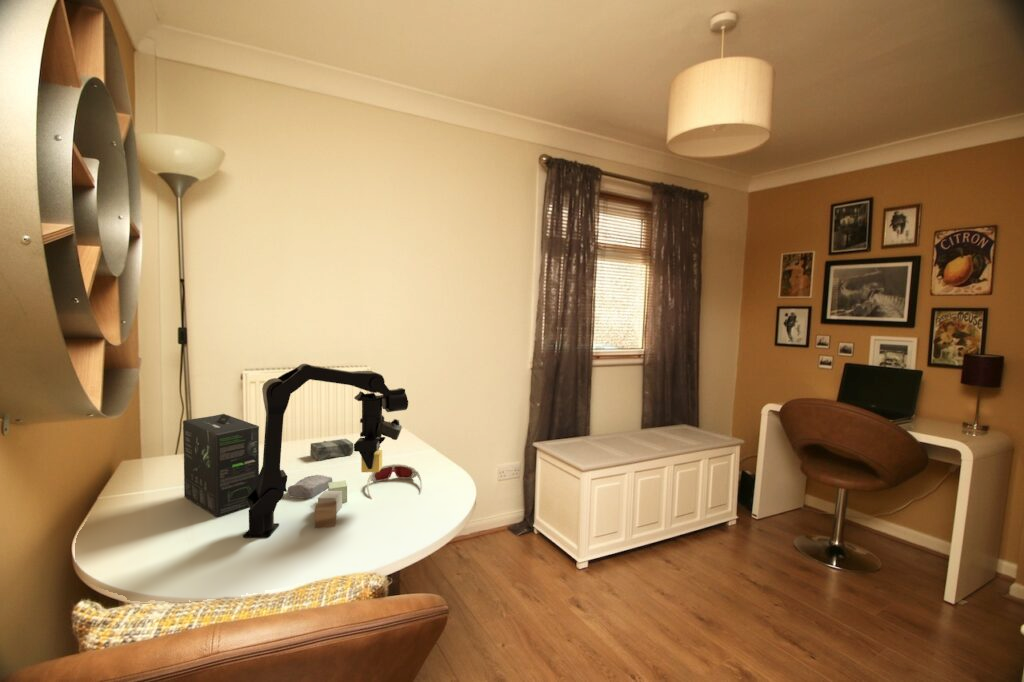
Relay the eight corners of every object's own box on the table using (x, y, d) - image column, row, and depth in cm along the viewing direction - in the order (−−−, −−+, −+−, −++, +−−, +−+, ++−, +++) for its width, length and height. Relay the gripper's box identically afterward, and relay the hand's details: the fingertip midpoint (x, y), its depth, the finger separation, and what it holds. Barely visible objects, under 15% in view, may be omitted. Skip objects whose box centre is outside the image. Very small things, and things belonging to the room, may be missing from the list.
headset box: (261, 503, 134) (259, 418, 132) (216, 518, 124) (214, 426, 122) (225, 485, 147) (224, 407, 145) (182, 498, 137) (180, 414, 135)
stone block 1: (354, 455, 181) (354, 442, 180) (317, 462, 171) (317, 449, 171) (346, 449, 187) (346, 437, 187) (310, 456, 178) (310, 443, 178)
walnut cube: (334, 526, 122) (334, 508, 121) (314, 528, 120) (314, 510, 120) (336, 518, 126) (336, 500, 126) (317, 520, 125) (317, 502, 125)
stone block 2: (285, 502, 140) (313, 499, 138) (282, 487, 140) (310, 483, 138) (309, 489, 151) (335, 486, 150) (306, 475, 152) (333, 471, 150)
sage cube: (347, 502, 137) (347, 486, 136) (329, 504, 135) (329, 488, 134) (345, 495, 141) (345, 480, 141) (328, 498, 139) (328, 482, 139)
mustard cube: (379, 472, 132) (379, 455, 132) (361, 472, 132) (361, 455, 131) (382, 466, 137) (382, 450, 137) (365, 466, 137) (365, 450, 136)
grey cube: (335, 515, 128) (335, 498, 128) (318, 515, 128) (317, 497, 128) (342, 507, 133) (342, 491, 133) (325, 507, 133) (324, 490, 133)
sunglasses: (418, 475, 160) (418, 462, 159) (423, 502, 145) (424, 488, 144) (367, 479, 155) (367, 466, 154) (367, 508, 139) (367, 494, 138)
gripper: (394, 421, 125) (394, 476, 126) (404, 407, 143) (403, 455, 144) (353, 422, 124) (353, 477, 125) (368, 407, 142) (368, 455, 143)
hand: (371, 465), depth 134 cm, fingers closed on mustard cube, 5 cm apart
